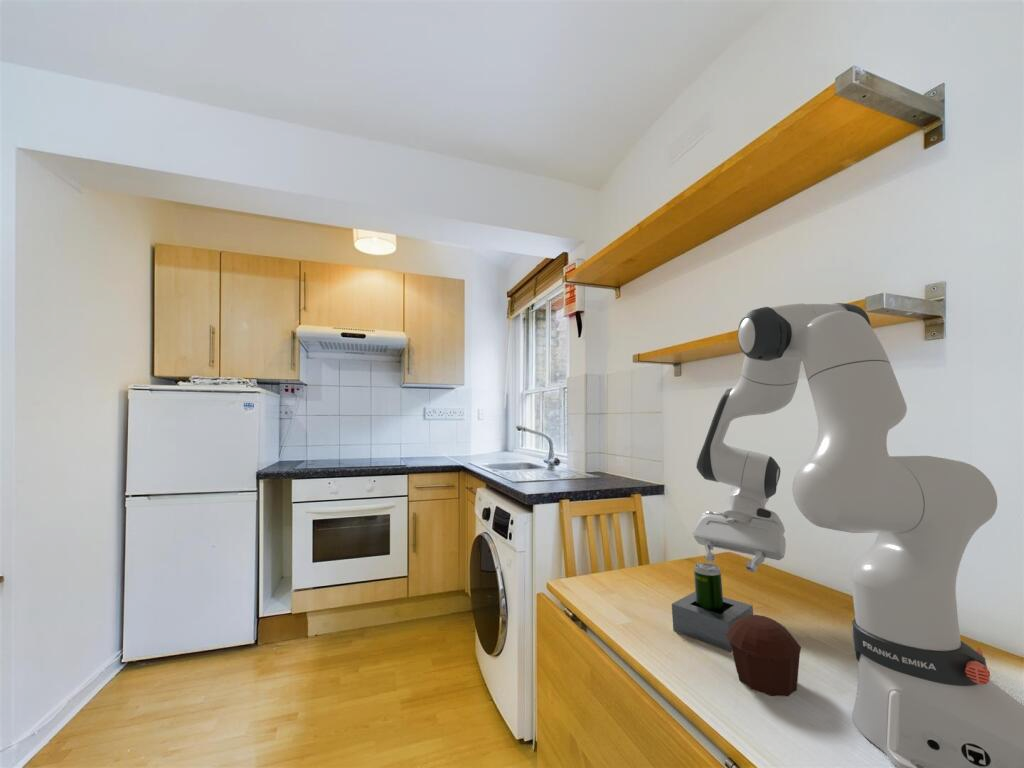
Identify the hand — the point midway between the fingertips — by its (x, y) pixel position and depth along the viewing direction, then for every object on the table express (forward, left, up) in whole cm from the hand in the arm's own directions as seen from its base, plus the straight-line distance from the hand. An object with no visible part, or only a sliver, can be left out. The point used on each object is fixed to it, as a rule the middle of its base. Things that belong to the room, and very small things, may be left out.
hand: (729, 565), depth 97 cm
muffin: (-14, +21, -12) cm, 28 cm away
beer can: (0, +11, -10) cm, 15 cm away
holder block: (0, +10, -11) cm, 15 cm away
